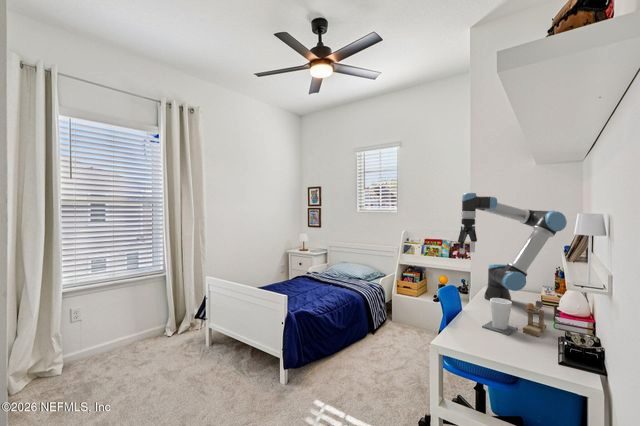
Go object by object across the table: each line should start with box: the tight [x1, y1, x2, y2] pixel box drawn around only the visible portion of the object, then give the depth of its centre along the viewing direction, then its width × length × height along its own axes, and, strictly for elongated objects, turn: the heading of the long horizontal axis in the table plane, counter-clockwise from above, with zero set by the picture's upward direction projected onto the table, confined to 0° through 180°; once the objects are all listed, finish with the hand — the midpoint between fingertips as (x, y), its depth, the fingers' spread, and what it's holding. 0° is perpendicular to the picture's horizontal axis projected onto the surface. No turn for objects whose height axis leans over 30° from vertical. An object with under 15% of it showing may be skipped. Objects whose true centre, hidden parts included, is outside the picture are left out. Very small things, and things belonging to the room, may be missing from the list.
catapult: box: [522, 300, 548, 338], centre depth 149 cm, size 17×6×15 cm, turn 130°
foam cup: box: [489, 298, 513, 329], centre depth 153 cm, size 10×9×13 cm
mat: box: [482, 320, 519, 336], centre depth 153 cm, size 12×12×1 cm
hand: (467, 252), depth 189 cm, fingers open, 13 cm apart
